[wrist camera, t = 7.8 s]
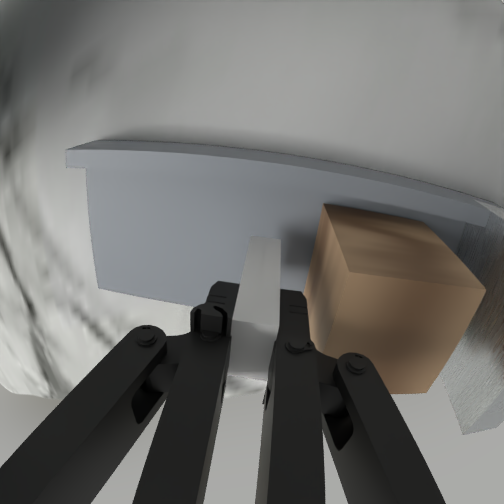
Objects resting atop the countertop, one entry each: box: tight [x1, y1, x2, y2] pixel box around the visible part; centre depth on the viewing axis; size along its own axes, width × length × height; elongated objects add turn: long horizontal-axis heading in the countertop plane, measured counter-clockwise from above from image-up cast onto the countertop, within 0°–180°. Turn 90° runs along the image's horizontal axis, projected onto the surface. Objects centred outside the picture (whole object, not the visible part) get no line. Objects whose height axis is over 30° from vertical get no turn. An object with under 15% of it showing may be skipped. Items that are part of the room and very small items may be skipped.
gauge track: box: [66, 140, 503, 307], centre depth 17 cm, size 26×10×3 cm, turn 84°
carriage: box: [303, 203, 486, 394], centre depth 14 cm, size 7×7×7 cm
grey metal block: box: [439, 199, 504, 435], centre depth 13 cm, size 3×10×9 cm, turn 174°
